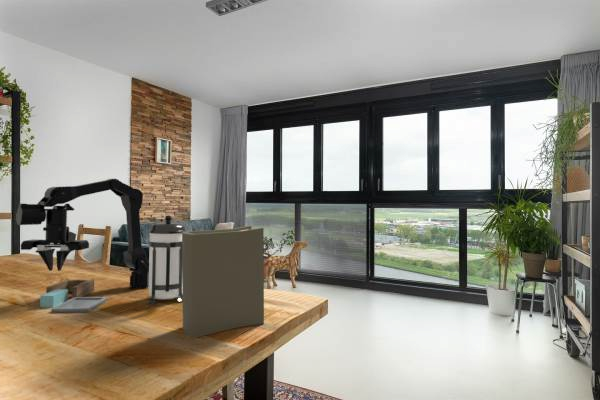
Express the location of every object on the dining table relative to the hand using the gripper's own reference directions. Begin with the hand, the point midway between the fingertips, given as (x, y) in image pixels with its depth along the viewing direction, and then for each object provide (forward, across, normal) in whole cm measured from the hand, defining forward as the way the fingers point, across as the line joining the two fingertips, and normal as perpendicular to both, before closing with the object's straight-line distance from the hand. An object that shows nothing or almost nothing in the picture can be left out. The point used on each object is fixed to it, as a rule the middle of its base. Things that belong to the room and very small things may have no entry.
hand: (55, 270), depth 115 cm
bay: (+11, 0, -10) cm, 15 cm away
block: (+9, 0, -4) cm, 10 cm away
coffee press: (+11, -36, -3) cm, 38 cm away
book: (+11, -58, +23) cm, 64 cm away
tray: (+11, -10, +3) cm, 15 cm away
